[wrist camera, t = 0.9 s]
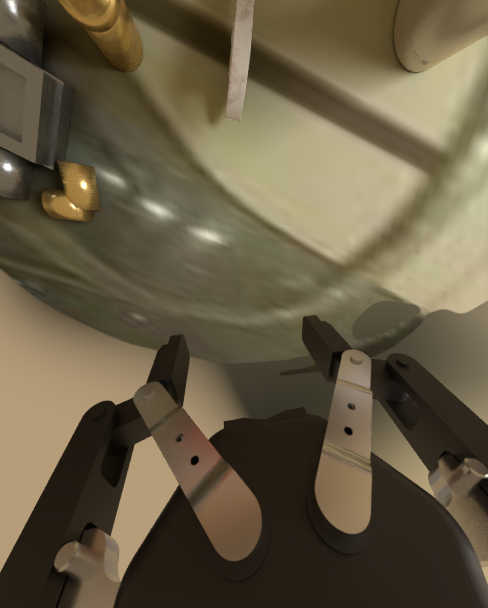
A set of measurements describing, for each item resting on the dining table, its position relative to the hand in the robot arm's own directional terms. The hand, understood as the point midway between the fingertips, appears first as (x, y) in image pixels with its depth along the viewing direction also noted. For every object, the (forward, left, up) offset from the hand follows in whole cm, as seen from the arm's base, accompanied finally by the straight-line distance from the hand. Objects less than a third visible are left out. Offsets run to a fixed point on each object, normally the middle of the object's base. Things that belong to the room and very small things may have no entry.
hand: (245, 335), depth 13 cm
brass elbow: (0, -19, -22) cm, 29 cm away
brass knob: (-15, -20, -24) cm, 35 cm away
